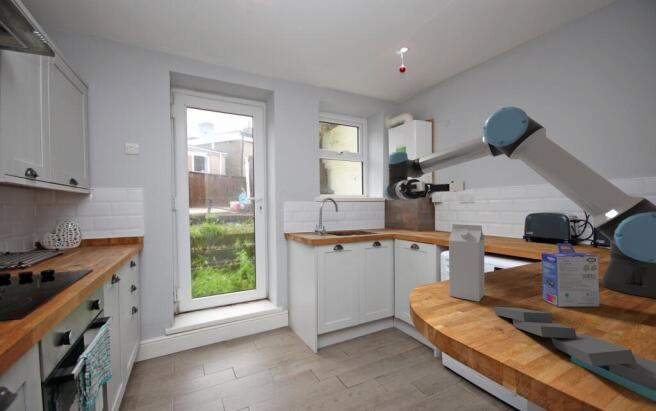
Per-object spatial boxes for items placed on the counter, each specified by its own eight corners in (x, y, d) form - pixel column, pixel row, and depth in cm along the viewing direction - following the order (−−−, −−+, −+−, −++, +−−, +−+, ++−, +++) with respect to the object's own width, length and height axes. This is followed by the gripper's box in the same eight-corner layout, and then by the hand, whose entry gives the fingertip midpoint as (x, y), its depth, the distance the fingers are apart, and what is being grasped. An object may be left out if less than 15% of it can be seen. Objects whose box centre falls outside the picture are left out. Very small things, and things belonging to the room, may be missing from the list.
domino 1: (494, 306, 60) (523, 312, 51) (517, 307, 60) (551, 313, 50) (495, 314, 60) (524, 321, 50) (518, 315, 60) (552, 322, 50)
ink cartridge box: (579, 299, 69) (579, 242, 69) (601, 307, 64) (601, 246, 64) (540, 299, 69) (540, 242, 69) (558, 307, 64) (558, 246, 64)
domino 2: (512, 317, 55) (540, 326, 45) (540, 319, 54) (574, 328, 44) (513, 326, 54) (542, 336, 45) (541, 328, 54) (576, 338, 44)
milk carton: (456, 289, 78) (456, 223, 77) (484, 295, 73) (484, 224, 73) (449, 296, 72) (448, 225, 72) (479, 302, 68) (478, 226, 67)
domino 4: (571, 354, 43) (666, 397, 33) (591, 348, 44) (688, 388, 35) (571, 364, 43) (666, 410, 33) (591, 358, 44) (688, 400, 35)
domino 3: (550, 337, 47) (588, 353, 38) (584, 333, 46) (630, 349, 36) (554, 347, 46) (593, 366, 37) (588, 344, 45) (636, 362, 36)
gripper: (439, 199, 105) (480, 198, 84) (378, 199, 100) (405, 198, 79) (439, 179, 105) (480, 173, 84) (378, 179, 100) (405, 172, 79)
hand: (444, 185), depth 82 cm, fingers open, 13 cm apart
